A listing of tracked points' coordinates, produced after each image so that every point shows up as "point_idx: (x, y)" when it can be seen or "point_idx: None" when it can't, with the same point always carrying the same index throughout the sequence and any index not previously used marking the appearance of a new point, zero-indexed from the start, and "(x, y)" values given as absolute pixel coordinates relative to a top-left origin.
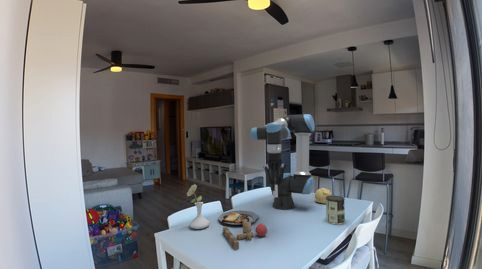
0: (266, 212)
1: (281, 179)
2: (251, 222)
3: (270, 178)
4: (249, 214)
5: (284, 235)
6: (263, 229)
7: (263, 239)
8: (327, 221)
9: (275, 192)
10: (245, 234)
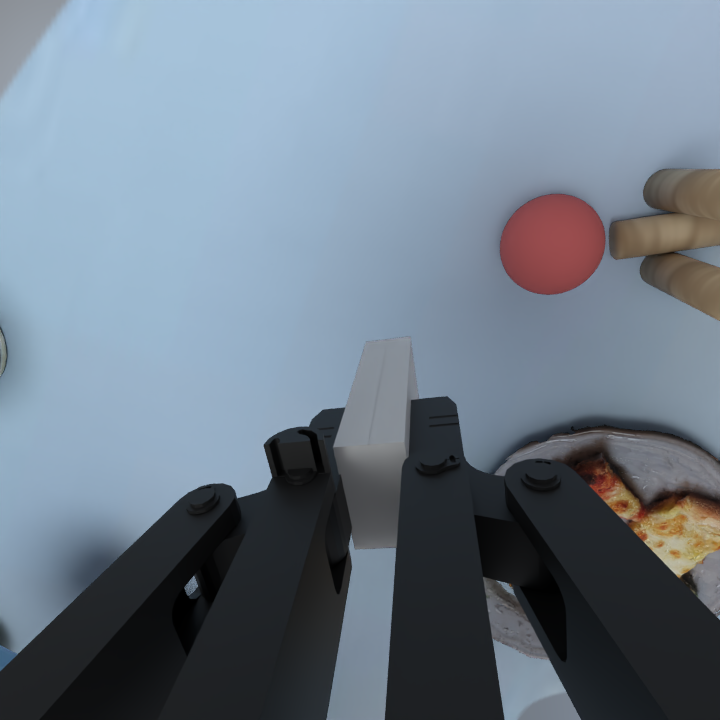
0: (353, 596)
1: (164, 550)
2: (540, 443)
3: (599, 592)
4: (485, 591)
5: (366, 198)
6: (553, 201)
7: (550, 166)
8: (1, 341)
9: (402, 367)
10: (698, 221)
